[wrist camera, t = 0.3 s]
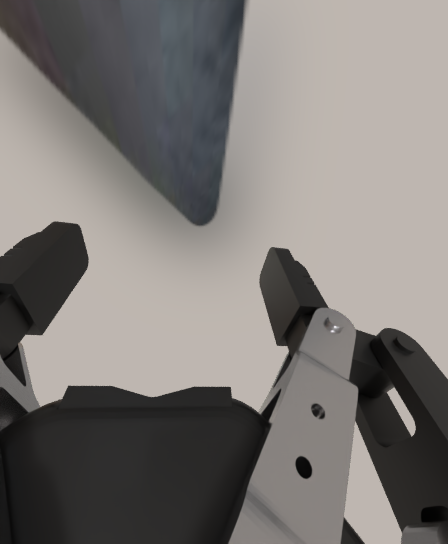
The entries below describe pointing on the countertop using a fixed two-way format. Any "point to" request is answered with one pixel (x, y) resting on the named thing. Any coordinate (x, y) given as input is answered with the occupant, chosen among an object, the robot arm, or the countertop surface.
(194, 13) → the countertop surface
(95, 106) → the countertop surface
